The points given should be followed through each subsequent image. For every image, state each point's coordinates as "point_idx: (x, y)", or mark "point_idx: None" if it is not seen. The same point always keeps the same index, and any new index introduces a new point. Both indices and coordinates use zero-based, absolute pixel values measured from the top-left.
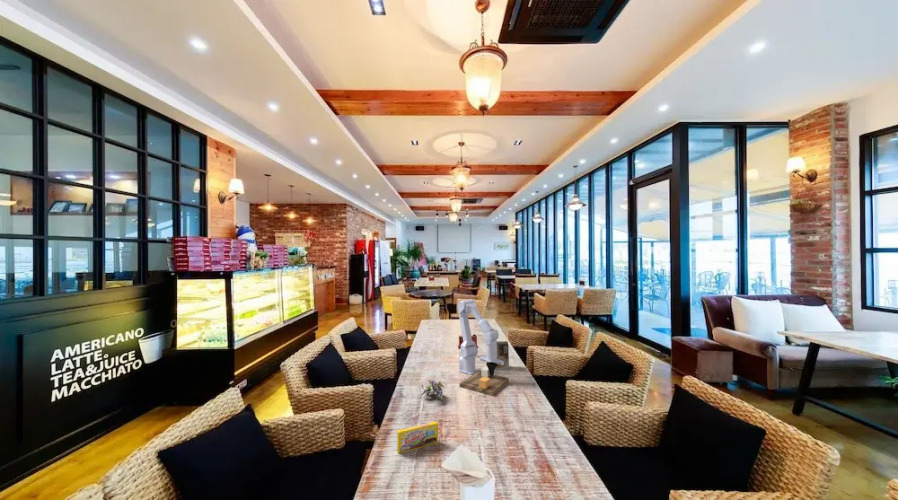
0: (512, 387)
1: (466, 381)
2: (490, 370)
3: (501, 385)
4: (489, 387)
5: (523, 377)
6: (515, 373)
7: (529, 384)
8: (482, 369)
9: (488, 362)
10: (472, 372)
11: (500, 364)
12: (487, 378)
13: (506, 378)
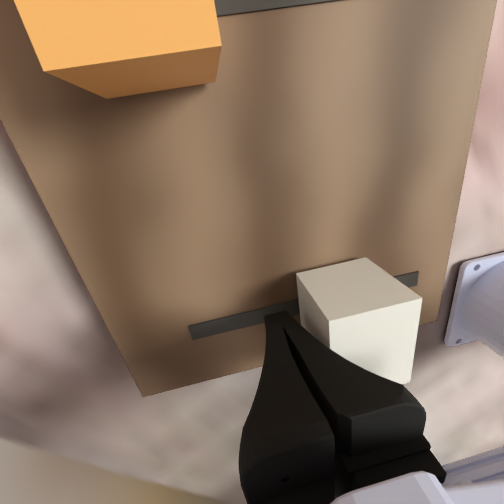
0: (34, 318)
1: (453, 3)
2: (296, 347)
3: (76, 250)
4: None
5: (134, 466)
6: (216, 465)
7: (3, 436)
8: (403, 301)
9: (400, 460)
10: (468, 287)
11: None
12: (67, 4)
13: (154, 379)
